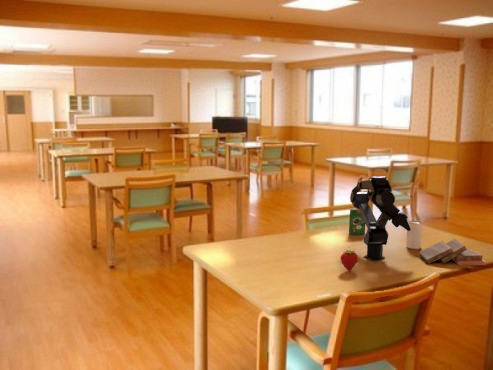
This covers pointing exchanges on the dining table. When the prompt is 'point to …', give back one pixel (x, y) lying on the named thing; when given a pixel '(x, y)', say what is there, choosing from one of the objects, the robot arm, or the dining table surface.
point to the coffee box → (356, 222)
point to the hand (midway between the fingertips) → (409, 230)
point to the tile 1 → (435, 252)
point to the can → (414, 235)
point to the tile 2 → (456, 248)
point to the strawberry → (349, 259)
